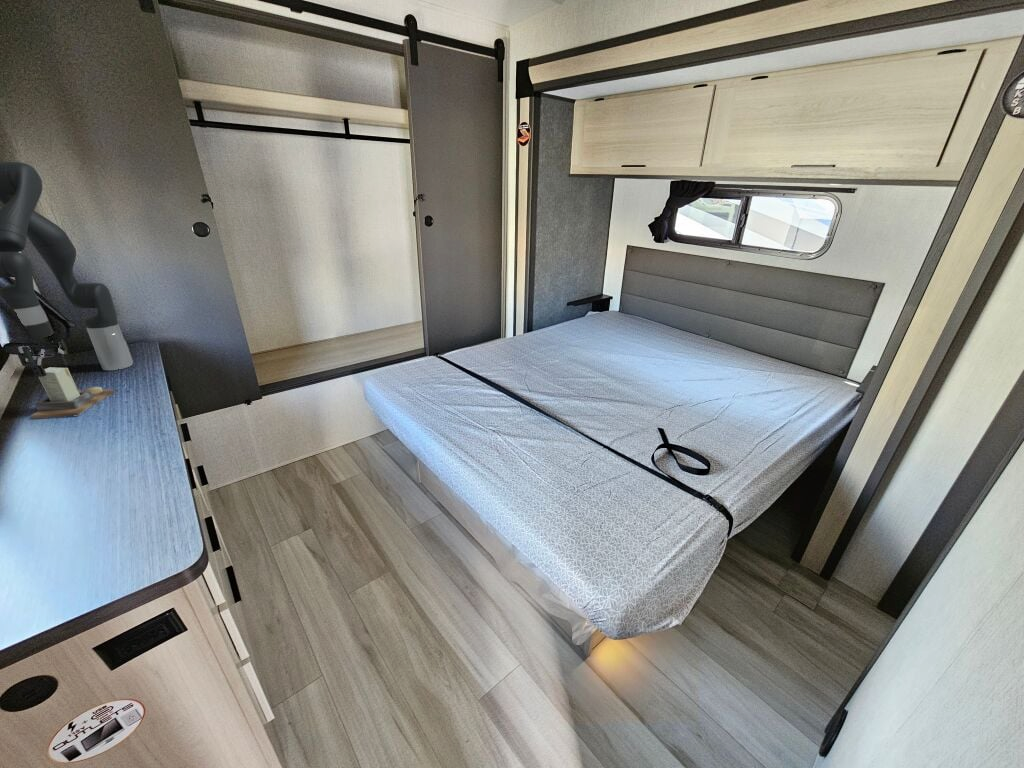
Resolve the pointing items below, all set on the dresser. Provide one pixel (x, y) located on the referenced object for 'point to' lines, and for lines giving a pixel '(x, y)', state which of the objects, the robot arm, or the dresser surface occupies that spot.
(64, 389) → the skincare box
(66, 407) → the carrier plate
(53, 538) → the dresser surface
